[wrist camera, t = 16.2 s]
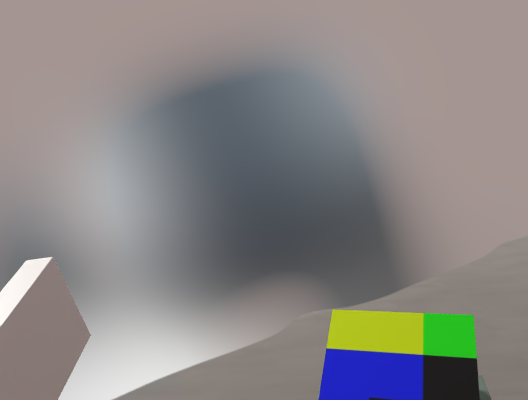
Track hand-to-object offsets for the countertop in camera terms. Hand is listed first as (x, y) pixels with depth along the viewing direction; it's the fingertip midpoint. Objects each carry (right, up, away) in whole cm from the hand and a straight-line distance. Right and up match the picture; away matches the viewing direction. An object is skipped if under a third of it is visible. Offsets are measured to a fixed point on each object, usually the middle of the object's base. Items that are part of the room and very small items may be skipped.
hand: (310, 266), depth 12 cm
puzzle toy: (+10, -17, +27) cm, 34 cm away
